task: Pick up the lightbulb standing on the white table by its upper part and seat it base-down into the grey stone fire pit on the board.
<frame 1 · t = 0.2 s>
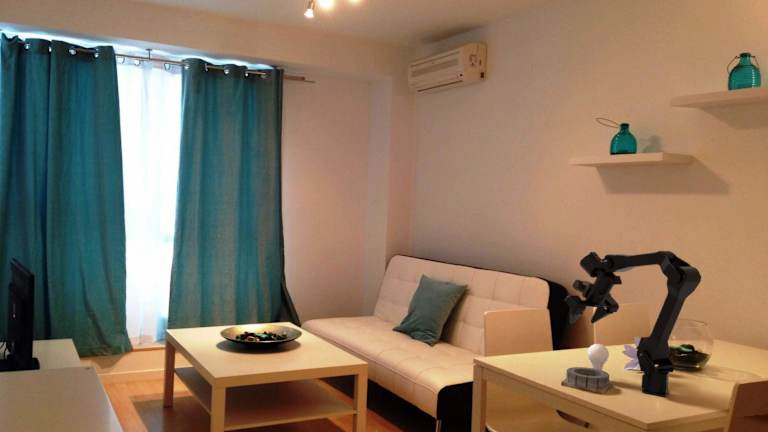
hand: (581, 322, 221), 15 cm above the table, tool tilted 30°, fingers open, 9 cm apart
lightbulb: (596, 379, 207), on the table
water lily: (640, 370, 221), on the table
grey stone fire pit: (587, 385, 199), on the table
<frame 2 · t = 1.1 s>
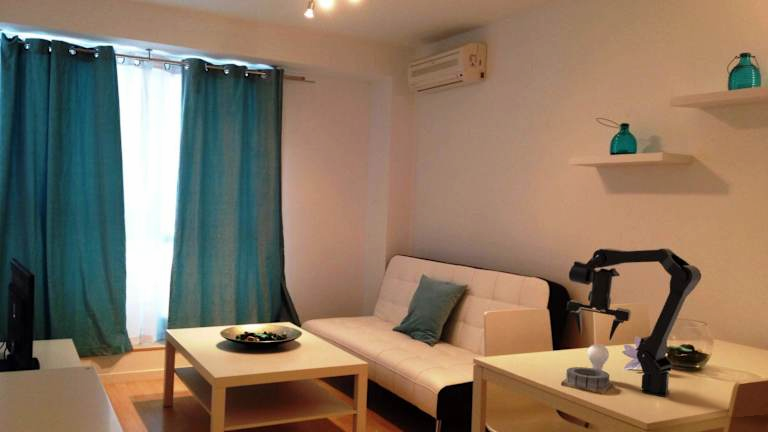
hand: (595, 336, 209), 13 cm above the table, tool pointing down, fingers open, 9 cm apart
nothing on the table moved.
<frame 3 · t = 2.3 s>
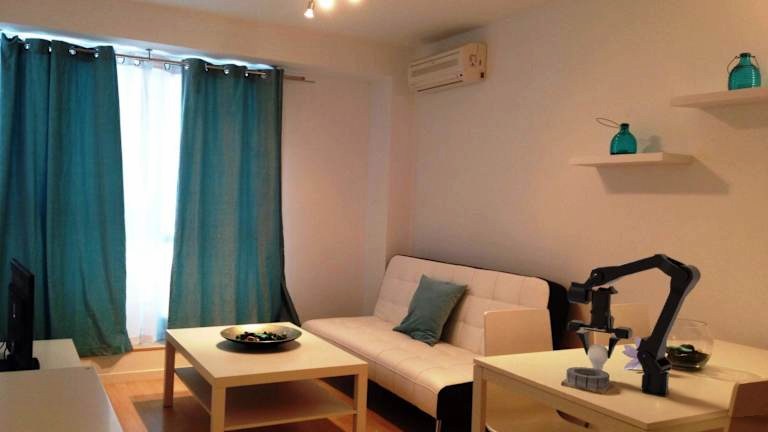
hand: (598, 356, 207), 7 cm above the table, tool pointing down, fingers closed on lightbulb, 6 cm apart
lightbulb: (596, 379, 207), on the table, touching gripper
everything else where it was.
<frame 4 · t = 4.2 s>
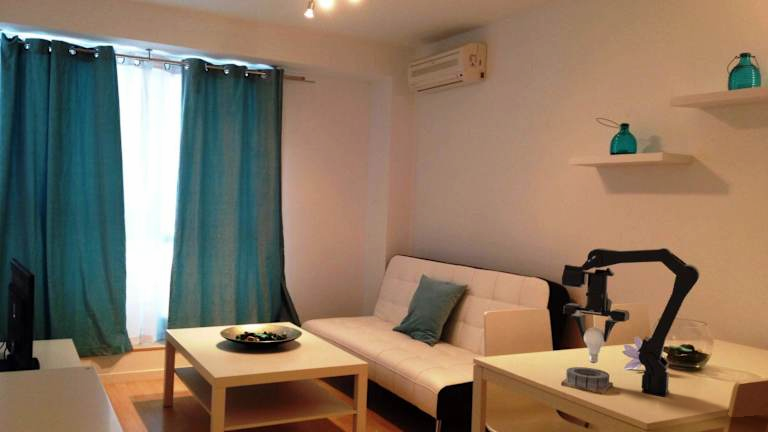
hand: (594, 340, 203), 13 cm above the table, tool pointing down, fingers closed on lightbulb, 6 cm apart
lightbulb: (593, 363, 203), point 6 cm above the table, touching gripper
everything else where it was.
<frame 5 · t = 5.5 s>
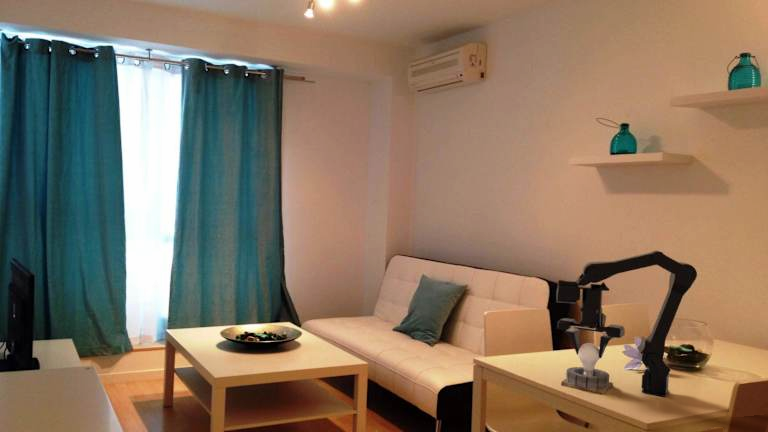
hand: (589, 356, 198), 9 cm above the table, tool pointing down, fingers closed on lightbulb, 6 cm apart
lightbulb: (587, 380, 199), point 2 cm above the table, touching gripper
everything else where it was.
when the fingers open (8 cm above the table, at t = 6.1 s): lightbulb drops 1 cm, resting in grey stone fire pit.
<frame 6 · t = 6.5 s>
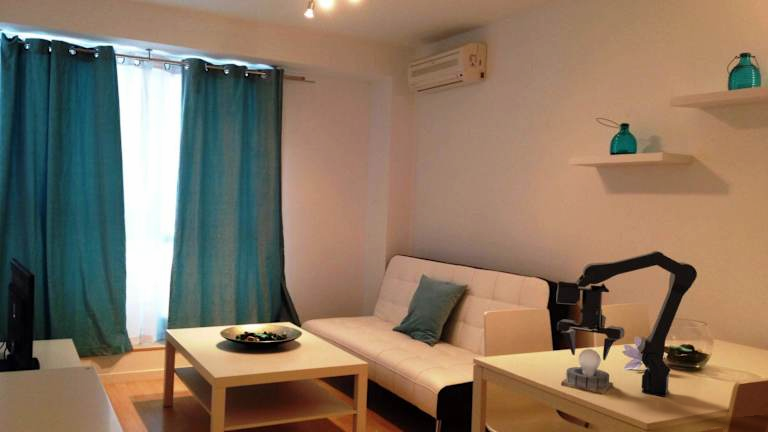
hand: (588, 357, 198), 8 cm above the table, tool pointing down, fingers open, 9 cm apart
lightbulb: (587, 386, 199), resting in grey stone fire pit
everything else where it was.
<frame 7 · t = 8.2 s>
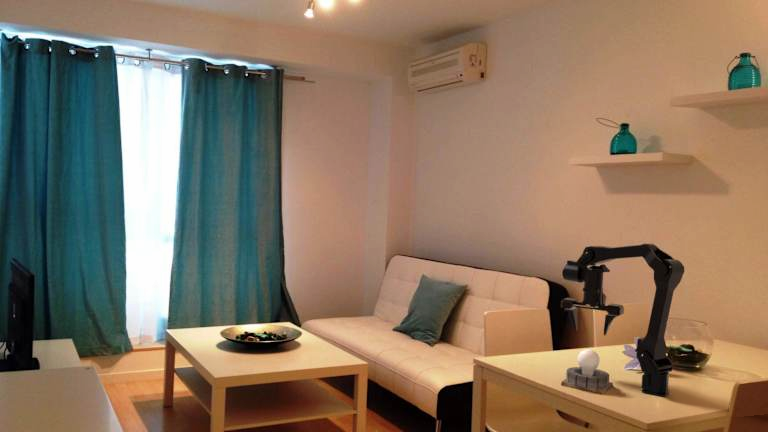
hand: (590, 333, 213), 13 cm above the table, tool pointing down, fingers open, 9 cm apart
nothing on the table moved.
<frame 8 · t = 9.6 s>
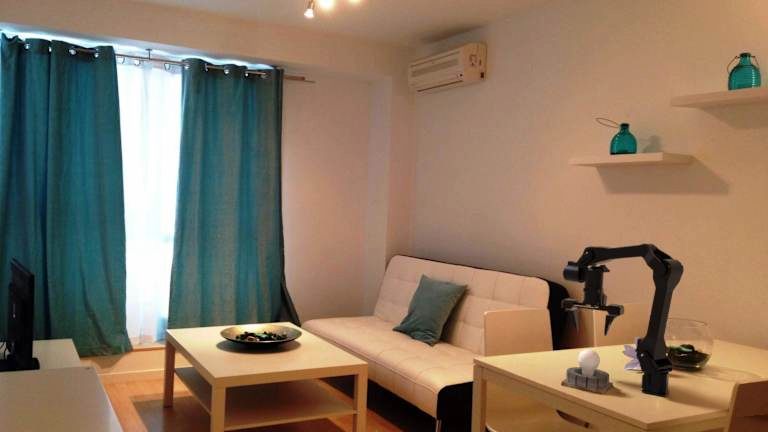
hand: (591, 333, 213), 13 cm above the table, tool pointing down, fingers open, 9 cm apart
nothing on the table moved.
at the end: lightbulb 0.1 cm from the grey stone fire pit (horizontally); lightbulb resting in grey stone fire pit; lightbulb tilted 0° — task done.
